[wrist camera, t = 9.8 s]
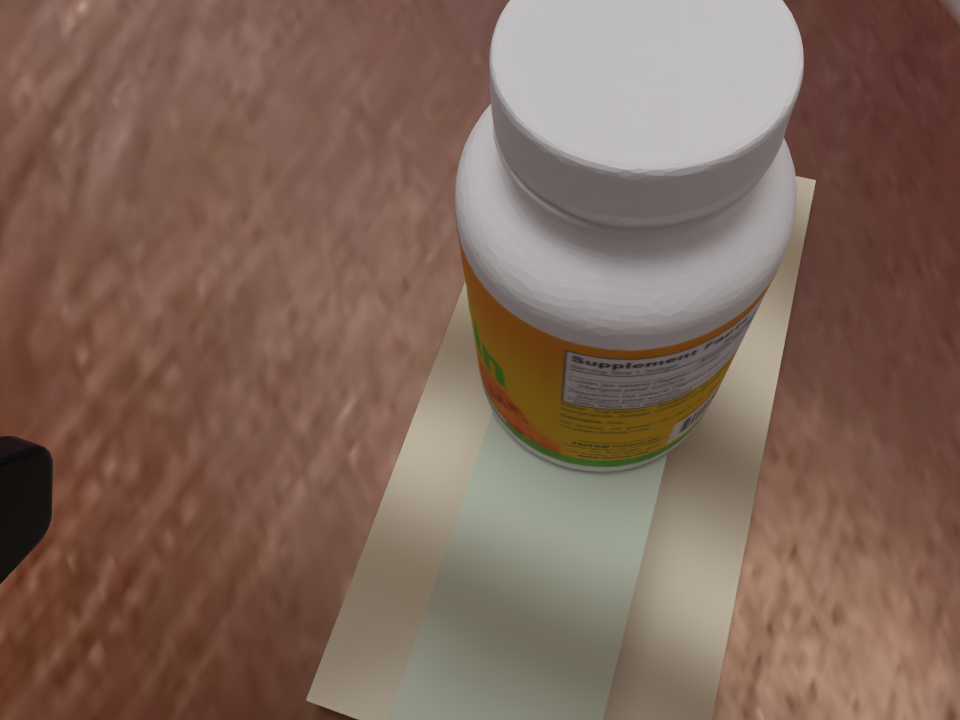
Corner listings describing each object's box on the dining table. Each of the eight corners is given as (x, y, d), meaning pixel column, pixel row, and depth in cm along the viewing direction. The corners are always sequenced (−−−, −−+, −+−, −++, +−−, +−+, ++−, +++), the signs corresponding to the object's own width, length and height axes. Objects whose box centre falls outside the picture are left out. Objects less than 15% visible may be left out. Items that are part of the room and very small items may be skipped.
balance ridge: (681, 835, 19) (716, 856, 15) (315, 702, 20) (268, 691, 17) (805, 200, 26) (849, 110, 22) (526, 141, 27) (525, 47, 24)
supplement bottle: (471, 279, 20) (420, -75, 12) (688, 256, 20) (803, -119, 12) (490, 489, 18) (447, 245, 9) (736, 464, 18) (926, 193, 9)
